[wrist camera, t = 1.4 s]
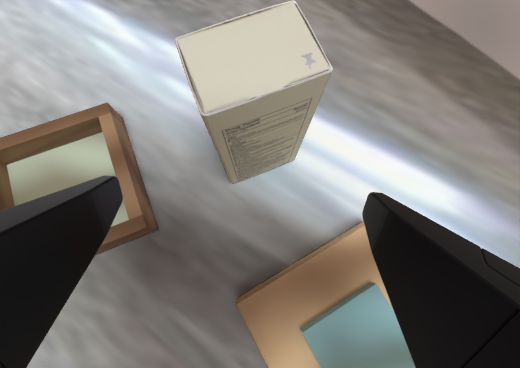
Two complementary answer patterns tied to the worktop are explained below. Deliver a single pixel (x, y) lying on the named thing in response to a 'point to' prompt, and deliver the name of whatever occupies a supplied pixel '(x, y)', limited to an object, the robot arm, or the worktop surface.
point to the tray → (77, 167)
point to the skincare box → (256, 85)
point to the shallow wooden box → (327, 311)
